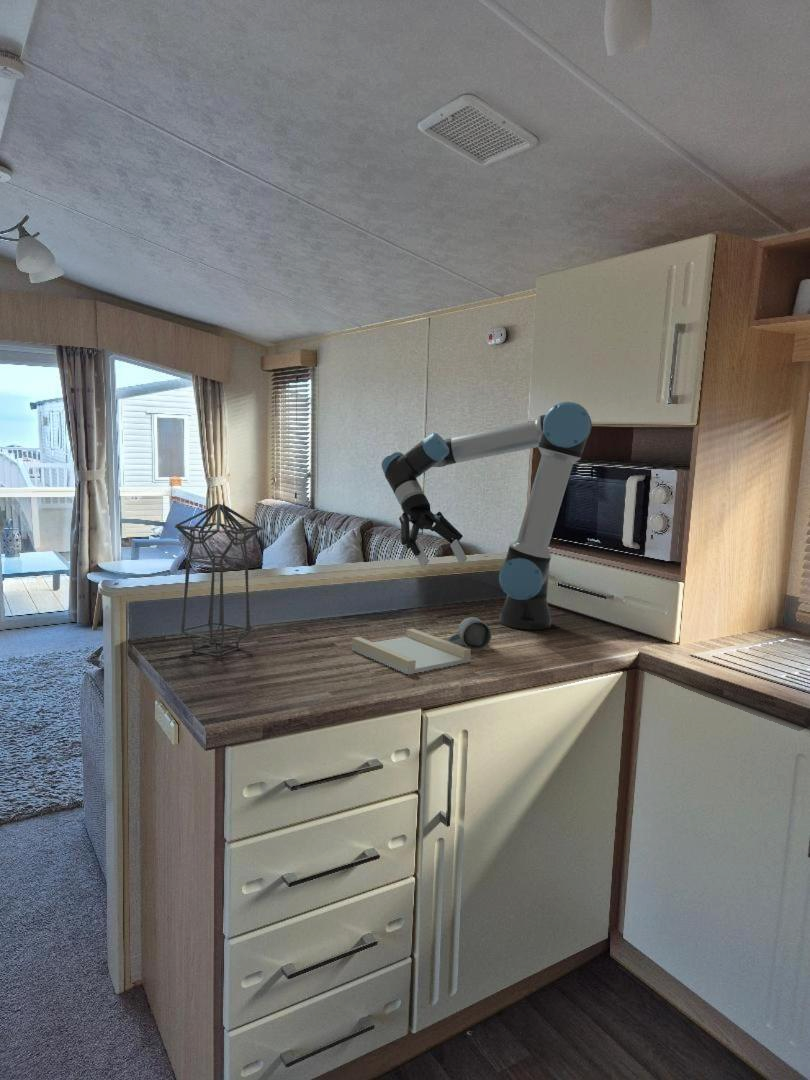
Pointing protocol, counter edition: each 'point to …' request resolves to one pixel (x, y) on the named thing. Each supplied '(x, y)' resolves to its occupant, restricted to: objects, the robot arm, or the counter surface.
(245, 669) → the counter surface
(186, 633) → the geometric lantern
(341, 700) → the counter surface
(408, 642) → the rail tray
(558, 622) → the counter surface
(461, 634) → the ceramic mug
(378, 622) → the counter surface
